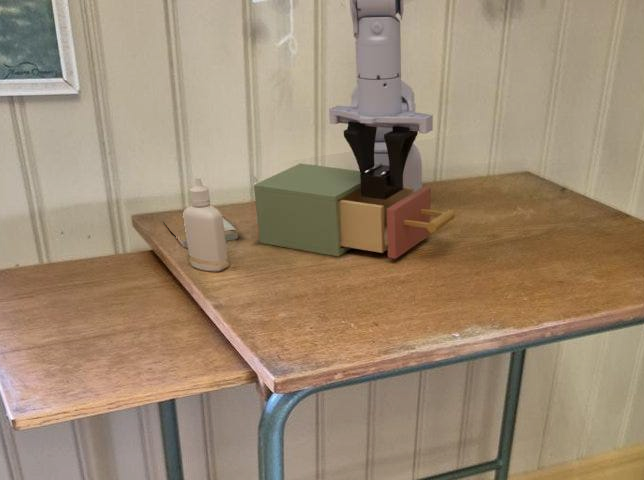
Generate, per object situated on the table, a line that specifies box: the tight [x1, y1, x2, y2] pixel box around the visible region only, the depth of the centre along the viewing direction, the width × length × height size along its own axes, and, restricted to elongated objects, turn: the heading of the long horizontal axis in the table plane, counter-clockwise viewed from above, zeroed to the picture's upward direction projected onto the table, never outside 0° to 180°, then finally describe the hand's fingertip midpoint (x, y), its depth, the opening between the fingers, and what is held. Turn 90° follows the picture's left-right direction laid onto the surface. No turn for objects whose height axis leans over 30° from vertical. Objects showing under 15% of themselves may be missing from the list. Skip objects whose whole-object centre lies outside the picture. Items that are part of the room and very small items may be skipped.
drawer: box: [338, 186, 456, 260], centre depth 126 cm, size 17×11×7 cm, turn 61°
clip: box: [360, 163, 403, 200], centre depth 124 cm, size 5×4×3 cm
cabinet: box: [253, 162, 361, 258], centre depth 131 cm, size 13×12×8 cm
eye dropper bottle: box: [183, 176, 229, 273], centre depth 121 cm, size 4×6×12 cm
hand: (381, 182), depth 124 cm, fingers closed on clip, 4 cm apart
